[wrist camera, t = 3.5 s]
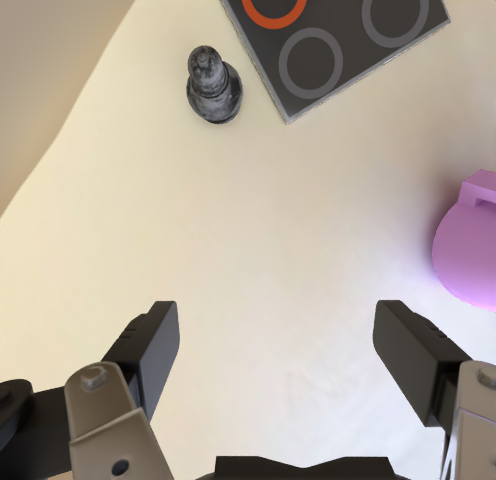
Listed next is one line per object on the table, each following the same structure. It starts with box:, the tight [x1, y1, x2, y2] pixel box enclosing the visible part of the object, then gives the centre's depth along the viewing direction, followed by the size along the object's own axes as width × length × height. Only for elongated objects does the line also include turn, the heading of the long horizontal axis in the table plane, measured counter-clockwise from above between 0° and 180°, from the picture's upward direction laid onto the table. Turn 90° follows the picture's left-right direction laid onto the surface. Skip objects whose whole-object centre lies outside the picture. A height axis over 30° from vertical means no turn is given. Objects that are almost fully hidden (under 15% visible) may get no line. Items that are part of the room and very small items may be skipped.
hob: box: [220, 0, 451, 125], centre depth 30 cm, size 20×16×2 cm
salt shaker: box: [186, 46, 243, 124], centre depth 27 cm, size 6×6×12 cm
